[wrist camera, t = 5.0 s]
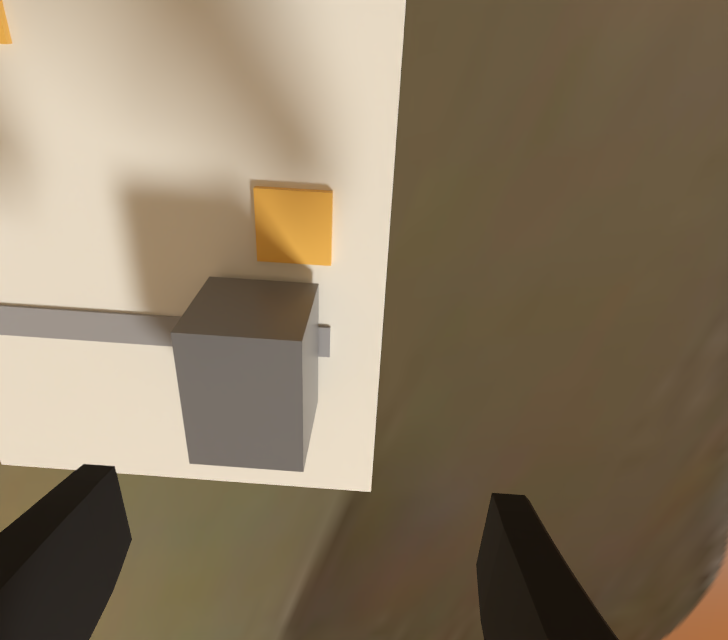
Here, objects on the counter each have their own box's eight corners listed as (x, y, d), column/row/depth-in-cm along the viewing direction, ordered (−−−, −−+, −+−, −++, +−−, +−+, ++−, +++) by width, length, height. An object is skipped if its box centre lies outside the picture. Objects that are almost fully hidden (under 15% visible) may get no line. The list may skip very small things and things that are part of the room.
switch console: (26, 435, 21) (-2, 468, 20) (-341, -686, 9) (-481, -817, 8) (372, 461, 21) (370, 496, 19) (453, -669, 9) (463, -803, 7)
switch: (220, 394, 17) (189, 463, 15) (209, 276, 15) (170, 332, 13) (318, 400, 17) (303, 472, 15) (318, 283, 15) (302, 341, 13)
